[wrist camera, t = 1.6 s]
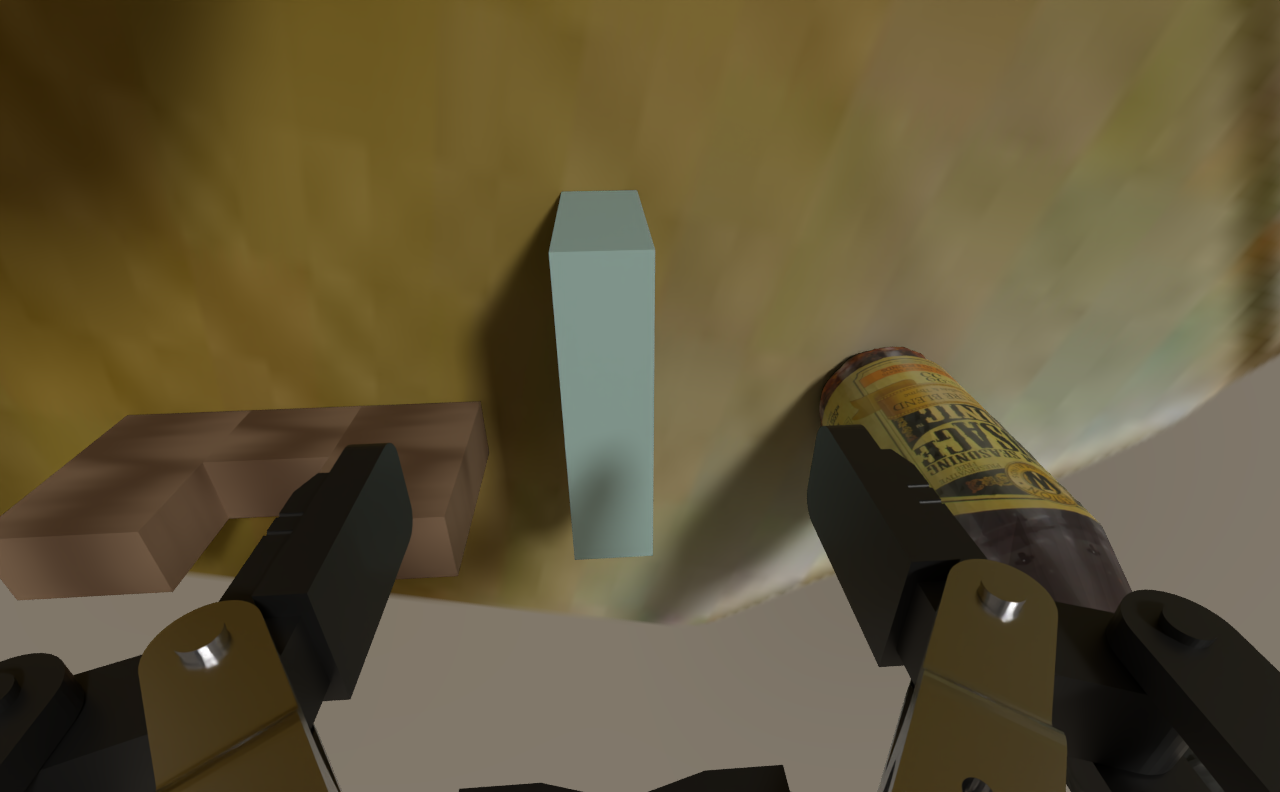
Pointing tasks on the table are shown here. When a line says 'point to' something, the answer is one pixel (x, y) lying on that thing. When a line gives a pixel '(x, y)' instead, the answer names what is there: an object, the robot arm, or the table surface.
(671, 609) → the table surface
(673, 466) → the table surface
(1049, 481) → the sauce bottle
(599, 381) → the teal board
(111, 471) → the walnut u-shaped block
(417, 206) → the table surface
